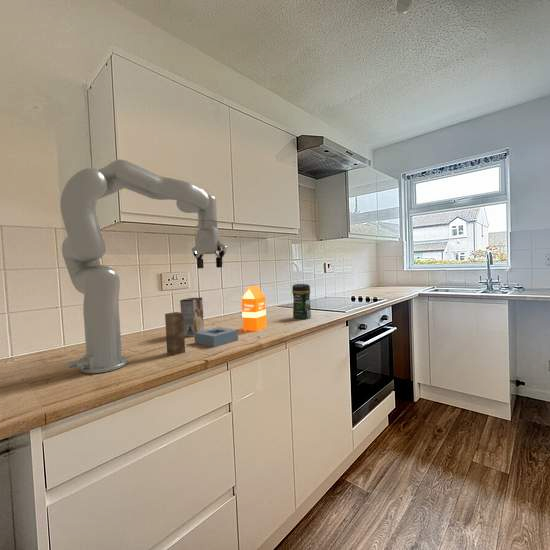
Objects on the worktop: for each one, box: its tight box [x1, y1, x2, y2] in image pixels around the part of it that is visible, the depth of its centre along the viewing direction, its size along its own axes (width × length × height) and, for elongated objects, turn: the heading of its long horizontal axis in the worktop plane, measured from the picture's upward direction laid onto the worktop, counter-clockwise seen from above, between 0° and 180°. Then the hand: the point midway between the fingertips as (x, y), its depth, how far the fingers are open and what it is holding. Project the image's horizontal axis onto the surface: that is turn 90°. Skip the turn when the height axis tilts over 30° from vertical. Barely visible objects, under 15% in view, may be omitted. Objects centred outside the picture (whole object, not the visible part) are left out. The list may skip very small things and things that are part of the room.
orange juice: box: [241, 285, 267, 332], centre depth 140 cm, size 8×9×20 cm
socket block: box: [194, 326, 239, 348], centre depth 119 cm, size 12×12×4 cm
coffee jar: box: [291, 283, 312, 320], centre depth 163 cm, size 10×8×19 cm
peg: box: [164, 311, 186, 356], centre depth 105 cm, size 4×4×14 cm
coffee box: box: [179, 296, 205, 337], centre depth 134 cm, size 9×6×16 cm
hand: (209, 267), depth 123 cm, fingers open, 9 cm apart
